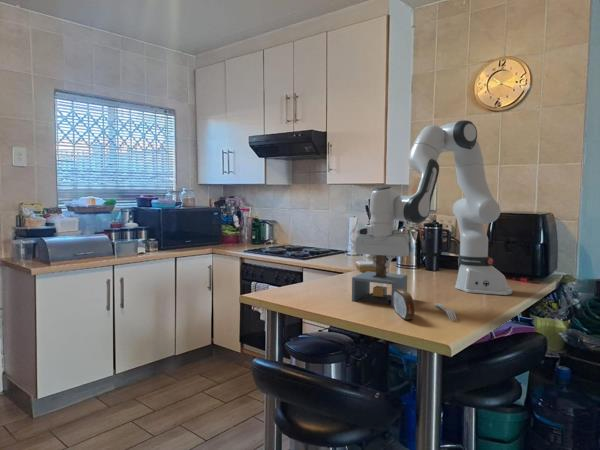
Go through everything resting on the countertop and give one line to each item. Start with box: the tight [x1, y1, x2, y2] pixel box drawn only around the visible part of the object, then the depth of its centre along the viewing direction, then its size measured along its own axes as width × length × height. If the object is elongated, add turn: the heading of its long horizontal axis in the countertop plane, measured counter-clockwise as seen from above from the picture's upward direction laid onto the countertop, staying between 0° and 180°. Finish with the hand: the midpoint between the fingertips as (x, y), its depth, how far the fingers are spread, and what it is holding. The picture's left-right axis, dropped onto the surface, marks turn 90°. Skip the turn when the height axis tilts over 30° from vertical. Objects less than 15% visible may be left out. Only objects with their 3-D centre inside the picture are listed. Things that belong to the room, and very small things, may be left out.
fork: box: [433, 302, 458, 322], centre depth 151 cm, size 3×21×3 cm, turn 178°
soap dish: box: [354, 260, 376, 273], centre depth 232 cm, size 12×10×5 cm
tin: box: [393, 289, 415, 321], centre depth 146 cm, size 15×3×8 cm, turn 4°
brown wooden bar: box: [375, 255, 387, 278], centre depth 168 cm, size 3×3×14 cm
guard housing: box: [351, 271, 408, 308], centre depth 168 cm, size 16×16×9 cm
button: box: [372, 285, 388, 297], centre depth 169 cm, size 4×4×3 cm
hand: (381, 267), depth 168 cm, fingers closed on brown wooden bar, 3 cm apart
